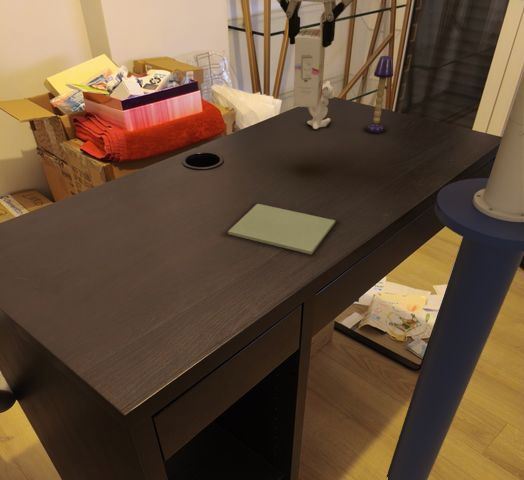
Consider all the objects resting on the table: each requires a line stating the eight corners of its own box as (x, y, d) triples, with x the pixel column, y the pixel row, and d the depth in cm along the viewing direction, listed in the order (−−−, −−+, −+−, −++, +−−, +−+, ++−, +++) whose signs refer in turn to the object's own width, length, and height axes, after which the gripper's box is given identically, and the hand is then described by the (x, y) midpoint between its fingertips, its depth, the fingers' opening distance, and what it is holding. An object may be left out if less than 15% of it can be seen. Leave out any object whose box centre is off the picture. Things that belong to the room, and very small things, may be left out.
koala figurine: (319, 132, 123) (323, 80, 115) (297, 127, 127) (300, 76, 118) (336, 123, 128) (341, 73, 120) (315, 118, 131) (319, 69, 123)
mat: (335, 223, 88) (335, 220, 88) (311, 254, 80) (311, 251, 80) (257, 206, 93) (257, 203, 93) (228, 234, 85) (227, 231, 85)
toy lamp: (363, 127, 126) (373, 55, 115) (379, 126, 127) (391, 54, 115) (370, 134, 123) (381, 59, 111) (387, 132, 123) (399, 58, 112)
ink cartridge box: (298, 94, 99) (301, 8, 89) (322, 95, 99) (328, 9, 89) (292, 107, 93) (294, 16, 83) (317, 108, 92) (323, 16, 83)
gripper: (259, -85, 78) (260, 44, 90) (361, -87, 72) (347, 52, 84) (278, -86, 82) (277, 37, 95) (375, -87, 77) (361, 44, 89)
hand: (310, 43), depth 89 cm, fingers closed on ink cartridge box, 5 cm apart
